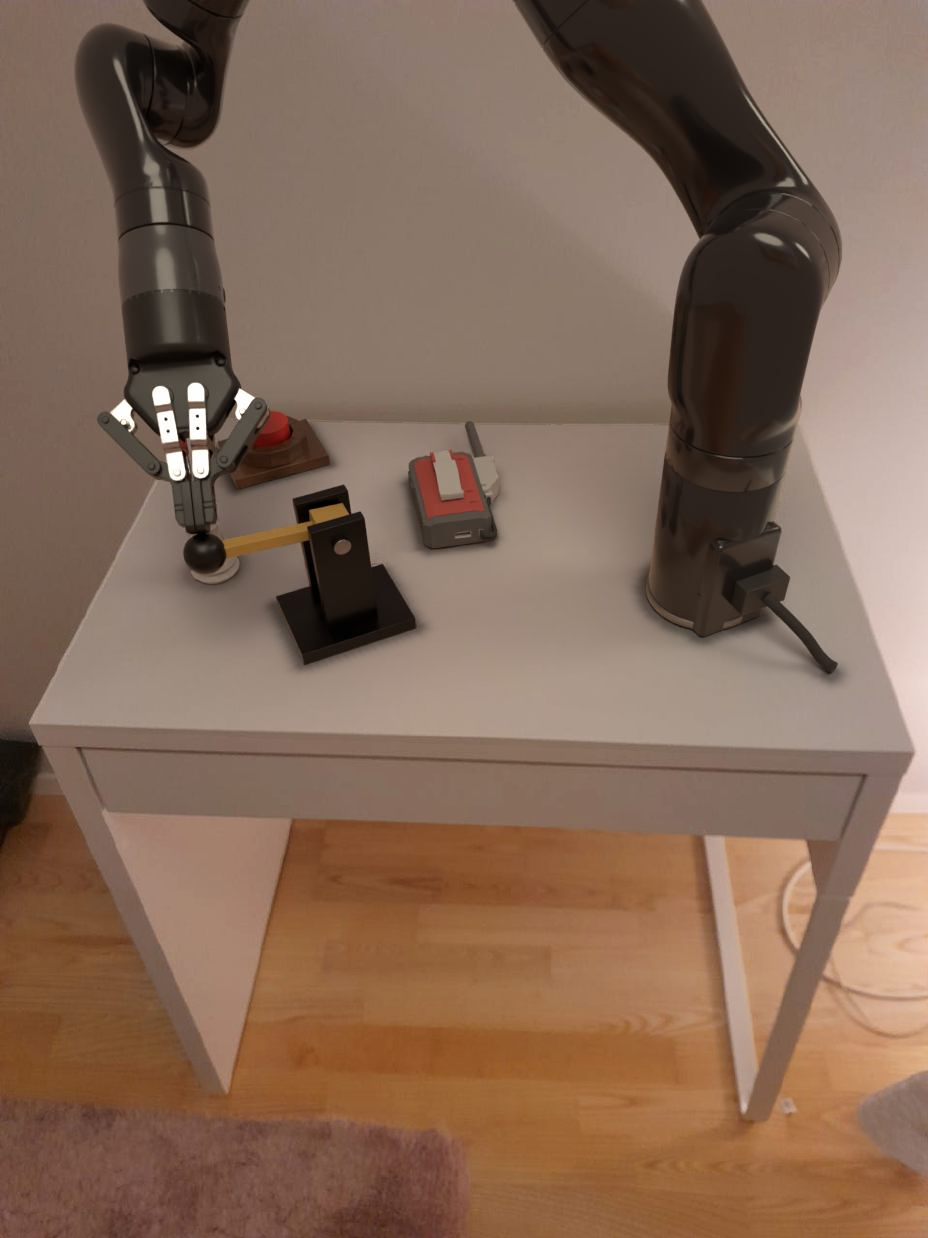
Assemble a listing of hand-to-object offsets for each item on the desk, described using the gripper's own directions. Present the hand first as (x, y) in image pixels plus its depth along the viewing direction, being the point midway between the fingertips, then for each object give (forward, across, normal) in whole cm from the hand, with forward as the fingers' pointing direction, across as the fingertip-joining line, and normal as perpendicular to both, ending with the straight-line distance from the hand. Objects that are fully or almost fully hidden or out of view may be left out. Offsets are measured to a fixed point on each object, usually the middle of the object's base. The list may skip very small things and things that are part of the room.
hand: (198, 532), depth 70 cm
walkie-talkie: (-4, +21, +23) cm, 32 cm away
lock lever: (+2, +5, +4) cm, 6 cm away
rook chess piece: (+2, -2, +17) cm, 17 cm away
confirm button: (-13, +3, +28) cm, 31 cm away
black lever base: (+7, +10, +11) cm, 16 cm away
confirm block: (-11, +3, +30) cm, 32 cm away
